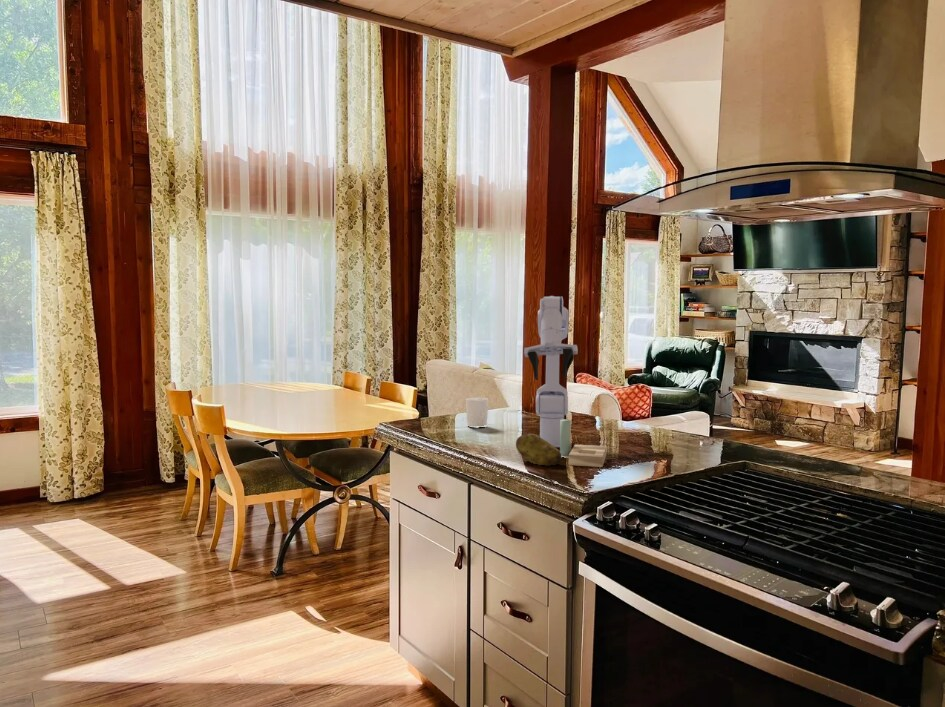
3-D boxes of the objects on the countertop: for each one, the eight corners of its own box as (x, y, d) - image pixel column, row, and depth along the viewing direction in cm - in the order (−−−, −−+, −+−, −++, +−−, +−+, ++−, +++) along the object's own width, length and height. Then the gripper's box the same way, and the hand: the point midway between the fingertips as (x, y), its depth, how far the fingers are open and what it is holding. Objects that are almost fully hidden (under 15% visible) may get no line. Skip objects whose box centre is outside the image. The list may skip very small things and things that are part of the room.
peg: (560, 453, 206) (560, 419, 205) (571, 453, 205) (571, 419, 205) (559, 455, 203) (559, 420, 202) (569, 456, 202) (570, 421, 202)
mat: (556, 451, 209) (556, 450, 209) (574, 452, 208) (574, 451, 208) (552, 457, 202) (552, 456, 202) (571, 458, 200) (571, 457, 200)
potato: (542, 470, 187) (542, 440, 186) (511, 461, 197) (511, 433, 197) (565, 466, 192) (565, 436, 191) (533, 457, 202) (533, 429, 202)
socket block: (574, 454, 206) (574, 444, 205) (606, 456, 203) (606, 446, 203) (568, 465, 192) (568, 454, 192) (602, 467, 190) (602, 456, 190)
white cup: (463, 428, 248) (462, 399, 247) (469, 424, 255) (469, 396, 254) (484, 429, 245) (484, 400, 244) (490, 425, 253) (490, 397, 252)
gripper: (522, 328, 197) (521, 372, 191) (575, 325, 194) (575, 369, 187) (527, 341, 203) (525, 383, 197) (578, 338, 199) (578, 381, 193)
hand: (550, 377), depth 192 cm, fingers open, 7 cm apart
